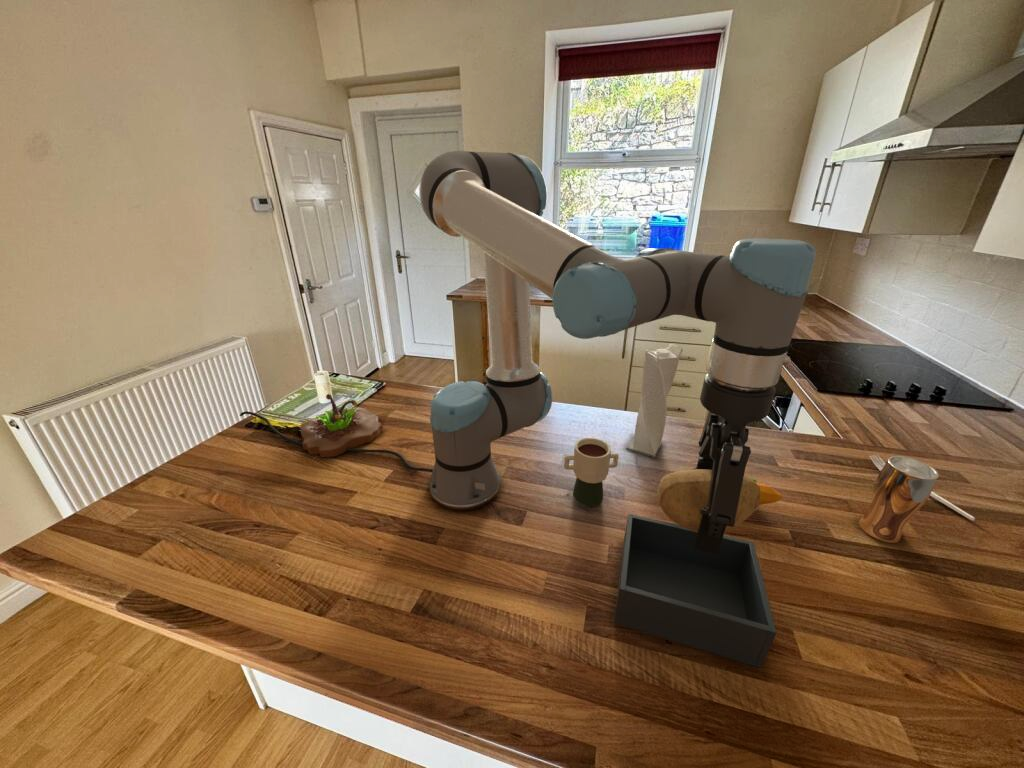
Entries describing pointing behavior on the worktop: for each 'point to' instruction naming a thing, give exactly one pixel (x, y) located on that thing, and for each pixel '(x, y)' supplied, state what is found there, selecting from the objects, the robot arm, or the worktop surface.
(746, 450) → the robot arm
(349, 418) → the plant
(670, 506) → the potato
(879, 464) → the fork
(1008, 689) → the worktop surface
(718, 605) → the bin
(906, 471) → the silver curved cylinder
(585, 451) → the character mug
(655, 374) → the skyscraper
